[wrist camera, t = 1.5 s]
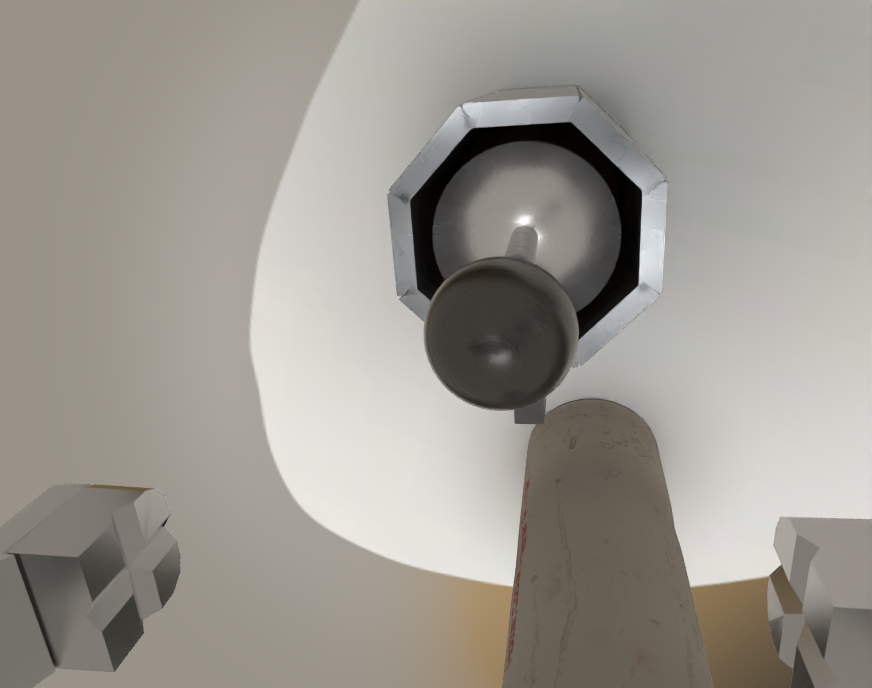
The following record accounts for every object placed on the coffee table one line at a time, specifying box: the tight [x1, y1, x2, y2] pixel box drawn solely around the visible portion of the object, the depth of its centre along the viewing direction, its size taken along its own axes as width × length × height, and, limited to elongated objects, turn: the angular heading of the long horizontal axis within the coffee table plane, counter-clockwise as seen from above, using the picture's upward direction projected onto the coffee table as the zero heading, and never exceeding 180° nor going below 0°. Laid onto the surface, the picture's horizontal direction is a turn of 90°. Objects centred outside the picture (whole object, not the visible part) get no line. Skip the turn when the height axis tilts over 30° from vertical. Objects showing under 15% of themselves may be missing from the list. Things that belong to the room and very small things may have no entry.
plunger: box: [424, 140, 621, 411], centre depth 20 cm, size 7×7×12 cm
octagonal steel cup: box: [387, 85, 668, 424], centre depth 31 cm, size 10×13×14 cm
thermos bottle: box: [502, 399, 714, 688], centre depth 30 cm, size 8×8×28 cm
